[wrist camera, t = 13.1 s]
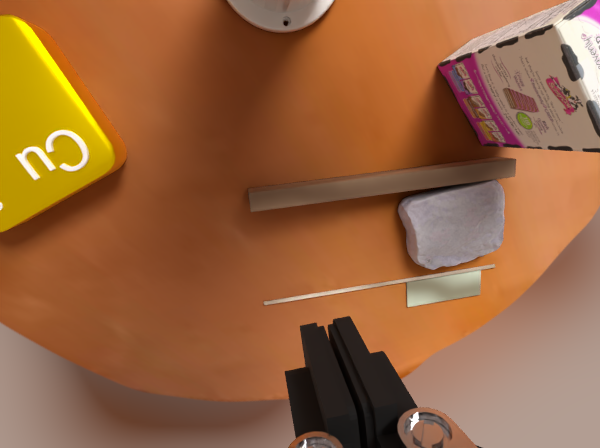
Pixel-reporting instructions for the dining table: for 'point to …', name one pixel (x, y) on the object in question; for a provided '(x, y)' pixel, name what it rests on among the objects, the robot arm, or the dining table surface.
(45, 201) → the element tile
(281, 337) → the dining table surface
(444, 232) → the stone block
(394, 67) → the dining table surface
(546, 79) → the candy bar box
